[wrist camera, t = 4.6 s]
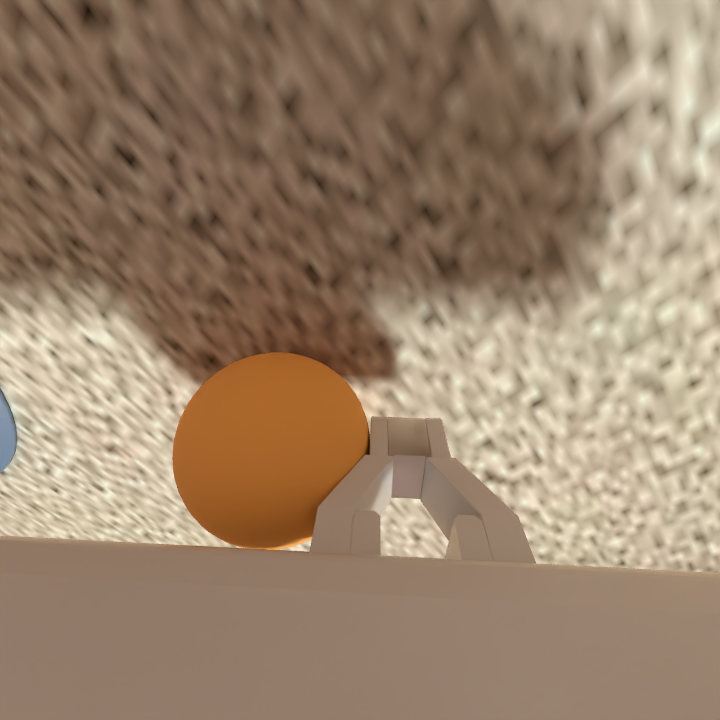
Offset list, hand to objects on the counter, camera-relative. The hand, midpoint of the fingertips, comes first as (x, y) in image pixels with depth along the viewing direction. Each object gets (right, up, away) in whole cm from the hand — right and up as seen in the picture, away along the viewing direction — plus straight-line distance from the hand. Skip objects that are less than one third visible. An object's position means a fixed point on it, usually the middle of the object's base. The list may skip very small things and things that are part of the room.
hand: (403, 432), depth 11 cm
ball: (-4, 0, -1) cm, 4 cm away
